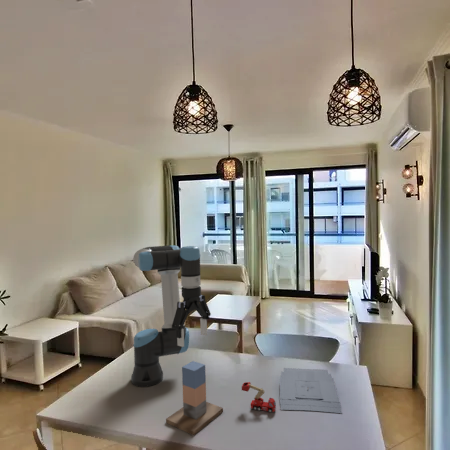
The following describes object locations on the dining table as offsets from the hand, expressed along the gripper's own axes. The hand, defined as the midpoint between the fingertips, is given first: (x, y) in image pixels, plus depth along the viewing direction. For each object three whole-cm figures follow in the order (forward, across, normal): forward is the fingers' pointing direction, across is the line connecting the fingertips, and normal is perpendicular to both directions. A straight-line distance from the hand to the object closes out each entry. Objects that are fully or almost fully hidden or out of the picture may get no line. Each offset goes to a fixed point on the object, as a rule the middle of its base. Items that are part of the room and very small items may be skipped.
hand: (192, 340), depth 136 cm
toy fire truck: (+31, +19, -18) cm, 41 cm away
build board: (+31, 0, 0) cm, 31 cm away
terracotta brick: (+24, 0, 0) cm, 24 cm away
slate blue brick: (+17, 0, 0) cm, 17 cm away
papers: (+31, +41, -30) cm, 60 cm away
